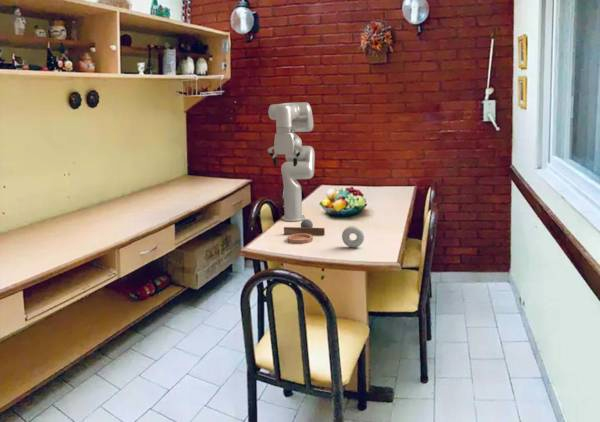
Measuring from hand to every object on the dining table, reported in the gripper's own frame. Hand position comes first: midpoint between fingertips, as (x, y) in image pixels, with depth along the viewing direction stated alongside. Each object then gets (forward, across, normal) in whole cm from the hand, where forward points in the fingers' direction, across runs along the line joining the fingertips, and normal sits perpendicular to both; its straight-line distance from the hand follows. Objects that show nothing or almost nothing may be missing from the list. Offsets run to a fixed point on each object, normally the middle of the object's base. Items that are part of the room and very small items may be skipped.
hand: (285, 166), depth 274 cm
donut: (+34, -36, +24) cm, 55 cm away
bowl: (+33, -10, +16) cm, 38 cm away
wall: (+33, -10, +6) cm, 35 cm away
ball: (+30, -10, -1) cm, 31 cm away
